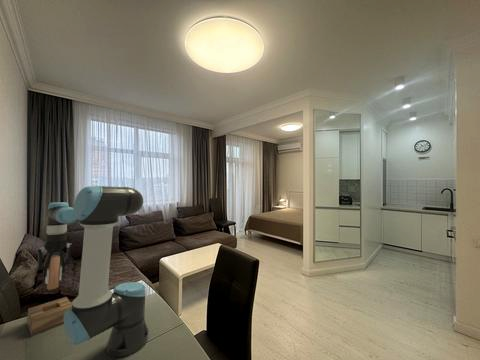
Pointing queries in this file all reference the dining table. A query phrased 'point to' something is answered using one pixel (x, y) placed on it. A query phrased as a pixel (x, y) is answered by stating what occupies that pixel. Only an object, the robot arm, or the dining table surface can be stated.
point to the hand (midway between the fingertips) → (53, 281)
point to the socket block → (47, 315)
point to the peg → (54, 272)
